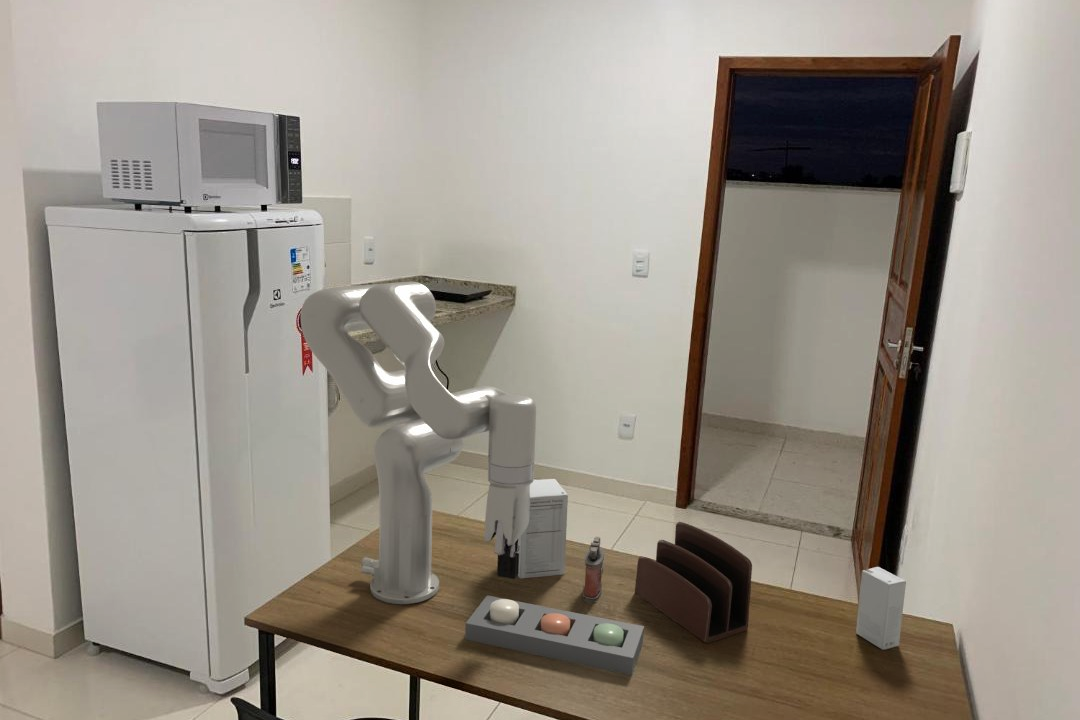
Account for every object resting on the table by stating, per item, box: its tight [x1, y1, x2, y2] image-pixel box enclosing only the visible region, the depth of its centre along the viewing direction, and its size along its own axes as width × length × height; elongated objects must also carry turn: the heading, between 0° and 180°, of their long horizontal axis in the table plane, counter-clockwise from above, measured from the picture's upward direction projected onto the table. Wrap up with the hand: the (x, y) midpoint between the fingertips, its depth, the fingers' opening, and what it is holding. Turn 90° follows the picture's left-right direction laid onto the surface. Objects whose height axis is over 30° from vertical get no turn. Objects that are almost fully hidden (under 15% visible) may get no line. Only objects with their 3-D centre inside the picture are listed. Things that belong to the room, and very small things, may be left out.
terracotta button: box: [541, 613, 570, 636], centre depth 132 cm, size 5×5×3 cm
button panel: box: [464, 595, 645, 676], centre depth 132 cm, size 28×10×3 cm, turn 73°
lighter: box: [582, 536, 605, 603], centre depth 149 cm, size 8×3×10 cm, turn 168°
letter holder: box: [634, 521, 753, 644], centre depth 143 cm, size 10×20×14 cm, turn 31°
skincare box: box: [855, 566, 907, 650], centre depth 136 cm, size 6×4×12 cm
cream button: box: [490, 598, 519, 626], centre depth 134 cm, size 5×5×3 cm
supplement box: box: [516, 478, 569, 579], centre depth 157 cm, size 10×9×17 cm
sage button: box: [593, 623, 624, 648], centre depth 129 cm, size 5×5×3 cm
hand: (507, 575), depth 133 cm, fingers closed
